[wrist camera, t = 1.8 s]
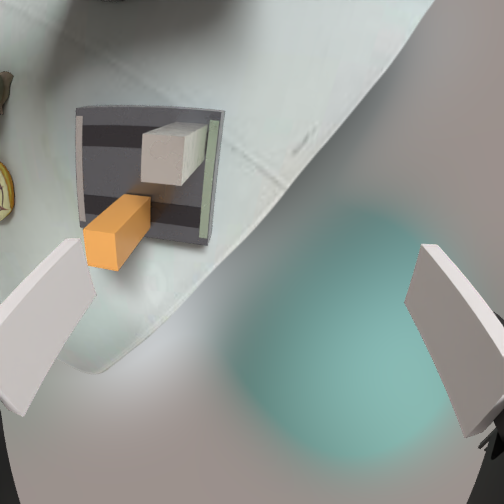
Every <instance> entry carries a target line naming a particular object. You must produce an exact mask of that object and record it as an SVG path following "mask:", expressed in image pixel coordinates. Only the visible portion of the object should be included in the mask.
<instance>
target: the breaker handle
mask: <svg viewBox="0 0 504 504" xmlns="http://www.w3.org/2000/svg"><path fill="white" fill-rule="evenodd" d="M150 210H151V197H147V196H138V195H128V194H124V195H122V196H121V197H120V198H119V199H118V200H116V201H115V202H114V203H113V204H111V205H110V206H109V207H108V208H107V209H106V210H104V211H103V212H102V213H101V214H100V215H99V216H97V217H96V218H95V219H94V220H93V221H92V222H91V223H89V224H88V225H87V226H86V227H85V228H84V229H83V233H84V242H85V249H86V257H87V263H88V266H93V267H98V268H103V269H109V270H114V271H119V269H120V268H121V266H122V265H123V264H124V262H125V261H126V260H127V258H128V257H129V255H130V254H131V253H132V251H133V250H134V249H135V247H136V246H137V245H138V243H139V242H140V241H141V239H142V238H143V237H144V235H145V234H146V233H147V232H148V230H149V229H150Z"/></svg>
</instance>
